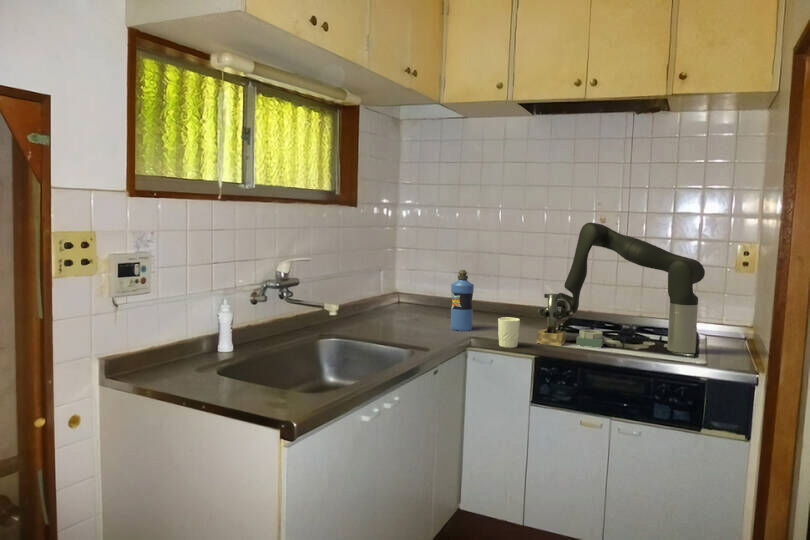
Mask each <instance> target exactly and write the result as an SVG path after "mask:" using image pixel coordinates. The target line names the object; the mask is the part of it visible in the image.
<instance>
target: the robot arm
mask: <svg viewBox="0 0 810 540" xmlns="http://www.w3.org/2000/svg"><path fill="white" fill-rule="evenodd" d="M593 246H594V247H598V248H599V247H600V248H604V249H607V250H611V251H613V252H615V253H616V254H618V255H619V256H620V257H621V258H623V259H625V260H627V261H628V262H630V263H632V264H636V265H637V266H640V267H644V268H648V269H652V270H653V269H654V270H658V271H663V272H666V273H667V294H668V297H669V310H668V327H667V331H668V332H667V342H666V343H667V345H666V346H667V348H666V349H667V351H670V352H674V353H679V354H696V349H697V348H696V347H697V346H696V345H697V330H698V311H699V310H698V309H699V297H698V296H697V295H696V294H695V293H694V287H693V286H694V284H697V283H699V282H701V281H702V280H703V279H704V278H705V276H706V275H705V274H706V273H705V268H704V266H703V264H702V263H701V262H700V261H698V260H697V259H694V258H690V257H687V256H681V255H679V254H675V253H673V252H670V251H668V250H666V249H663V248H662V247H660V246H657V245H654V244H652V243H649V242H647V241H645V240H643V239H639V238H636V237H633V236H630V235H625V234H621V233H620V232H617V231H615V230H614V229H612V228H610V227H608V226H606V225H604V224H602V223H598V222H597V223H596V222H586V223H585V224H583V225H582V227H581V229H580V232H579V236H578V238H577V243H576V248H575V253H574V256H573V260H572V262H571V263H572V264H571V267H570V270H569V272H568V275H567V276H566V277H567V278H566V280H565V283H564V288H565V290H567V291H569V292H570V293H571V294H572V296H571V295H568V294H566V293H564V292H559V293H556V294H557V295H561V299H557V312H555V318H557V319H556V321H557V320H562V319H563V318H564V319H566V318H569V317H573V315H574V314H575V313H576V312H577V311H578V309H579V307H580V306H579V305H580V295H581V291H582V288H583V286H584V284H585V280H586V278H587V275H588V258H589V253H590V251H591V249H592V247H593ZM537 310H538V311H537V314H538V315H540V317H543V318H545V319H547V313H548V306H547V307H544V308H543V307H541V306H539V307H538V309H537Z"/></svg>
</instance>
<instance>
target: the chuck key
mask: <svg viewBox="0 0 810 540" xmlns="http://www.w3.org/2000/svg"><path fill="white" fill-rule="evenodd" d="M557 294H558V293H544V296H543V297H544V298H545V299H547V307H548V313H547V317H546V320H547V321H546V329H547V333H553V334H556V330H557V320H556V319H557V318H555V312H557V299H561V295H557Z"/></svg>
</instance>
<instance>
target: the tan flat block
mask: <svg viewBox="0 0 810 540" xmlns="http://www.w3.org/2000/svg"><path fill="white" fill-rule="evenodd" d="M566 333H567V331H566V330H557V329H556V334H553V333H547V328H546V329H545V328H542V329H540V330H539V331H538V332H537V333H536V344H537V343H540V344H539V345H547V344H548V346H562V345H563V344H564V343H565V342H566Z"/></svg>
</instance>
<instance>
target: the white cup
mask: <svg viewBox="0 0 810 540" xmlns="http://www.w3.org/2000/svg"><path fill="white" fill-rule="evenodd" d="M520 323H521V320H520V318H517V317H511V316H510V317H507V316H505V317H504V316H503V317H499V318H498V319H497V331H498V335H497V336H498V345H499V347H502V348H509V349H511V348H512V349H513V348H517V347H518V346H519V345H518V343H519V338H520V337H519V334H520Z"/></svg>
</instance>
